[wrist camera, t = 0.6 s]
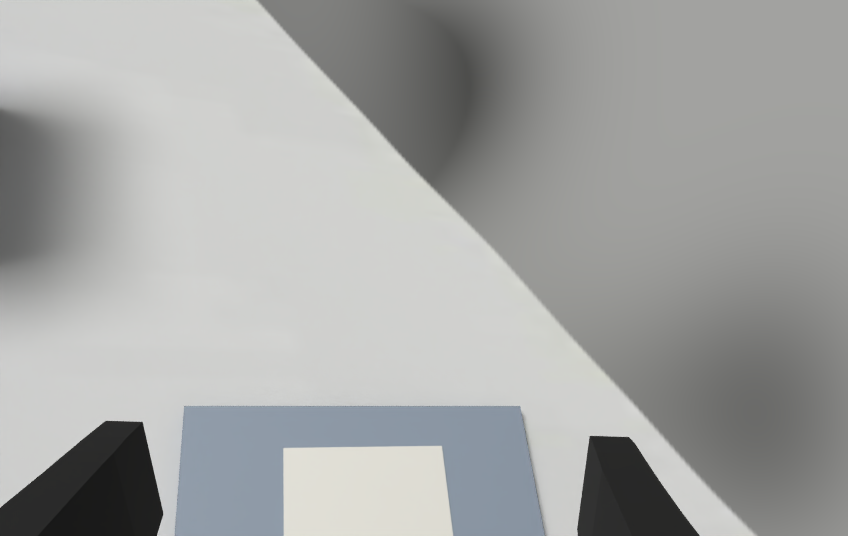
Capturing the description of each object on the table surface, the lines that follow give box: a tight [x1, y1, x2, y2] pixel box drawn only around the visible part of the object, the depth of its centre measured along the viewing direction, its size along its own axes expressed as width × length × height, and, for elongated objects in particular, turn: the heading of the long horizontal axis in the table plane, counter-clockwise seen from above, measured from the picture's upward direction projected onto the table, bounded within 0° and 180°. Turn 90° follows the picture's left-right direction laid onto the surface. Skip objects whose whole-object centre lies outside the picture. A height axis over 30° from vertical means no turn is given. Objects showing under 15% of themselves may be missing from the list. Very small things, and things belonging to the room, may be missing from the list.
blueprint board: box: [175, 406, 545, 536], centre depth 29 cm, size 10×14×1 cm
